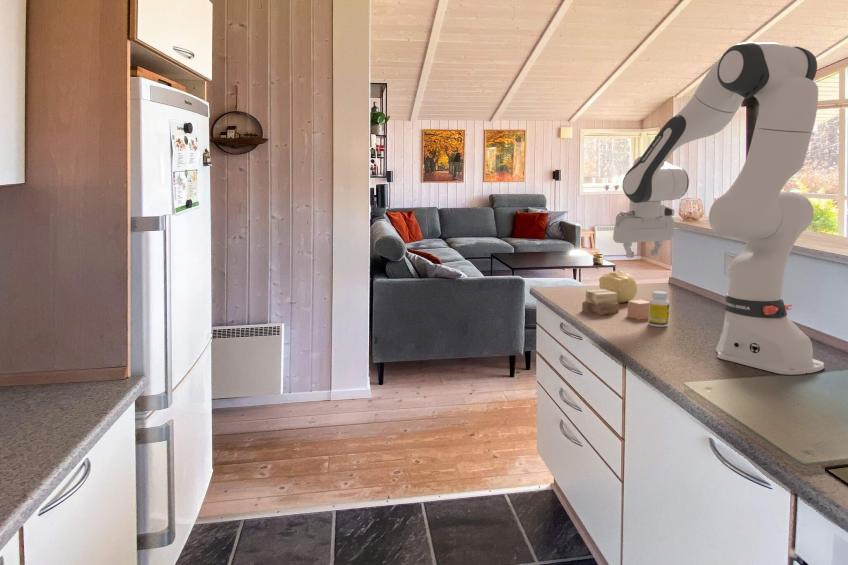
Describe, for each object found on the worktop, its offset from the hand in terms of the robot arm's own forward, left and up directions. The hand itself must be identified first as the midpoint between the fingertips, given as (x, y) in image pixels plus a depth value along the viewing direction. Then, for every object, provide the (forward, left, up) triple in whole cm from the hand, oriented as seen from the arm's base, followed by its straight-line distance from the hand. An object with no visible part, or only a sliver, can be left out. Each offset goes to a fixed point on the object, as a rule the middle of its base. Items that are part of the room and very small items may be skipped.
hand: (642, 256), depth 174 cm
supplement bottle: (-10, +2, -19) cm, 22 cm away
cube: (0, 0, -19) cm, 19 cm away
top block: (+11, +6, -16) cm, 20 cm away
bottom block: (+11, +6, -19) cm, 23 cm away
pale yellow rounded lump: (+22, -10, -19) cm, 31 cm away
